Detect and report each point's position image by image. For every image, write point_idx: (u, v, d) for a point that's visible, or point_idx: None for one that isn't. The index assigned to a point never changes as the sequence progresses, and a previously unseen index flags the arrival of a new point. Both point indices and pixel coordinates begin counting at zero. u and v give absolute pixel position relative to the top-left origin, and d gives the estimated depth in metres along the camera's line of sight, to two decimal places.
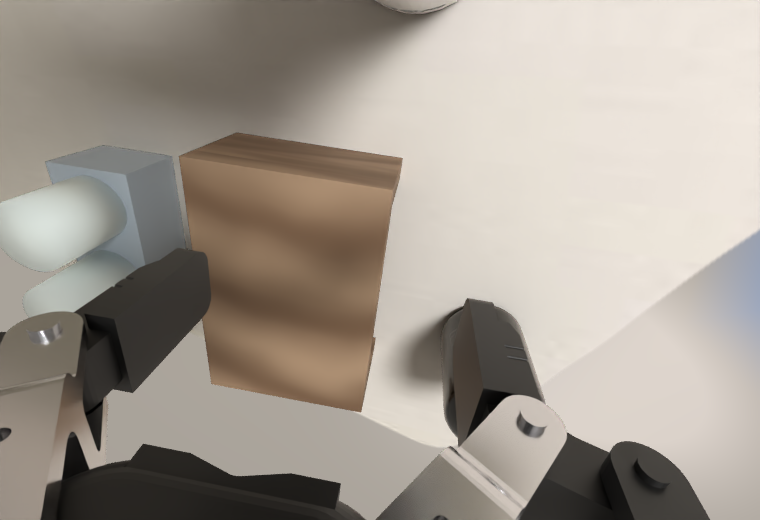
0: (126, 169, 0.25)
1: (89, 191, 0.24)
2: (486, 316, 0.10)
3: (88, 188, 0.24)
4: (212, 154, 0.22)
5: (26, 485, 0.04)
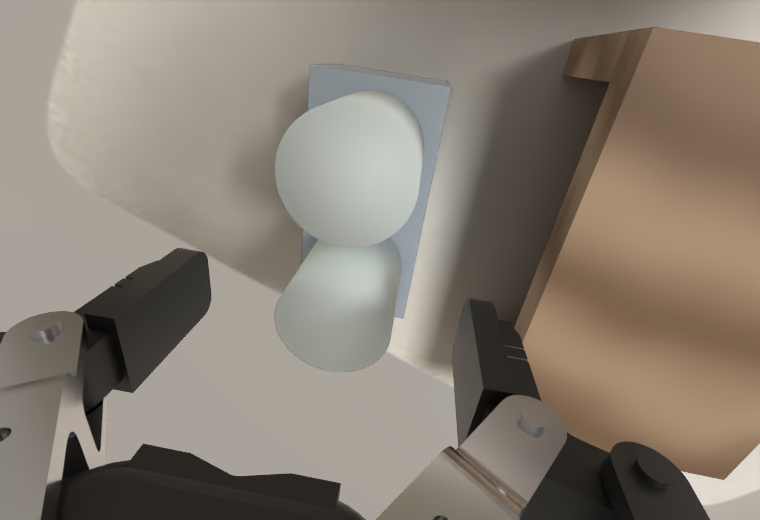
0: (434, 83, 0.15)
1: (405, 110, 0.14)
2: (486, 316, 0.10)
3: (401, 106, 0.14)
4: None
5: (26, 485, 0.04)
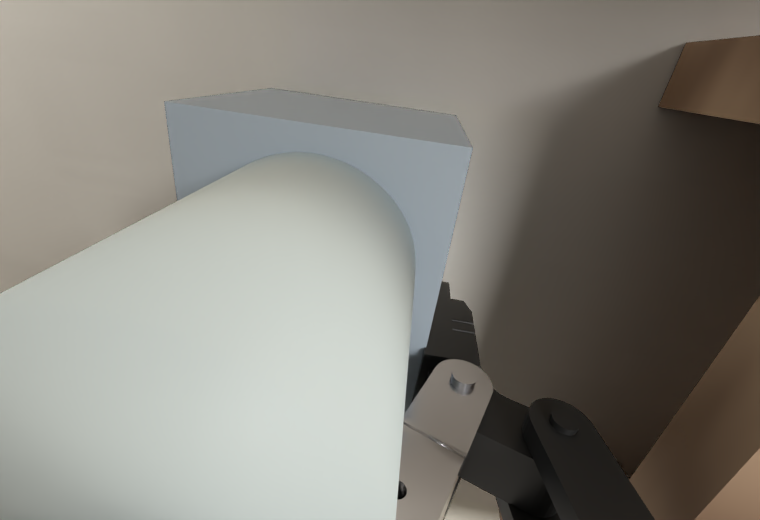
0: (434, 133, 0.07)
1: (366, 211, 0.06)
2: (439, 294, 0.11)
3: (357, 199, 0.06)
4: None
5: None
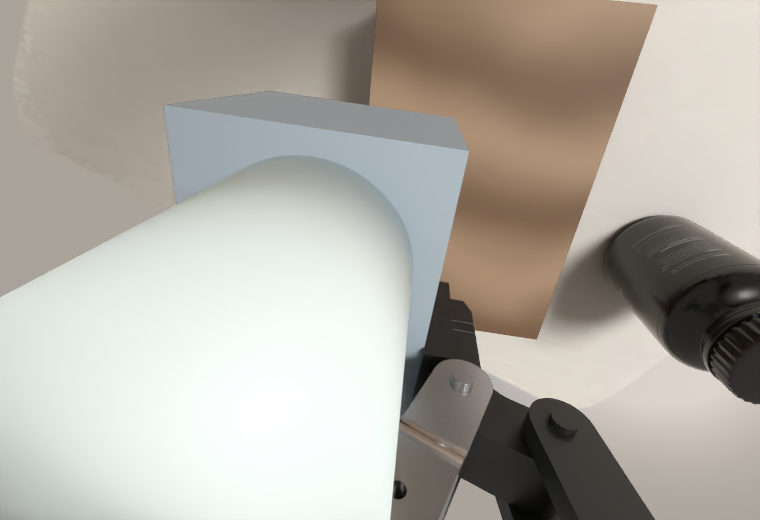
0: (431, 136, 0.07)
1: (363, 214, 0.06)
2: (439, 294, 0.11)
3: (354, 202, 0.06)
4: None
5: None
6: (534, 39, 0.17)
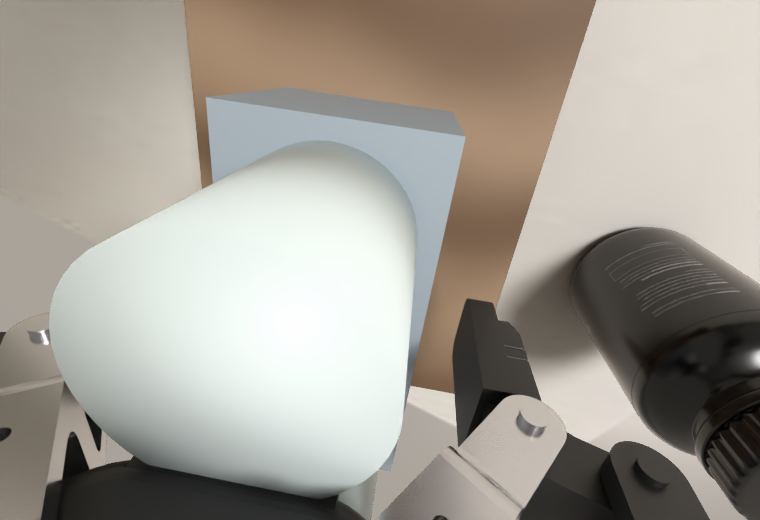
0: (433, 125, 0.09)
1: (378, 187, 0.07)
2: (486, 316, 0.10)
3: (370, 177, 0.07)
4: None
5: (27, 485, 0.04)
6: None
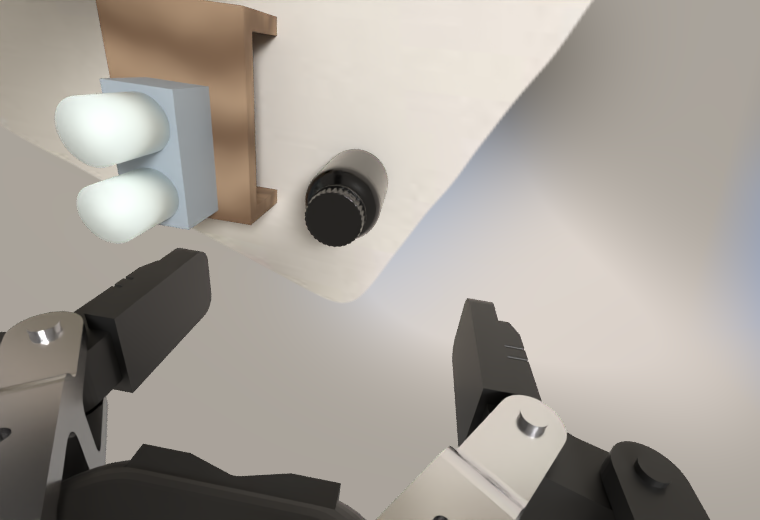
0: (171, 87, 0.28)
1: (140, 101, 0.26)
2: (486, 316, 0.10)
3: (139, 99, 0.26)
4: None
5: (26, 484, 0.04)
6: (185, 23, 0.30)
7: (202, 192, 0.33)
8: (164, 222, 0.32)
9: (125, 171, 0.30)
